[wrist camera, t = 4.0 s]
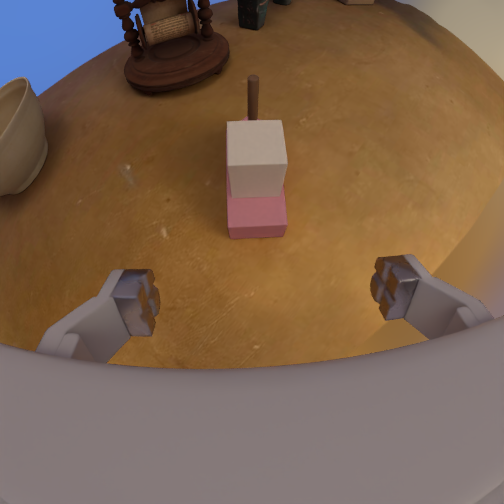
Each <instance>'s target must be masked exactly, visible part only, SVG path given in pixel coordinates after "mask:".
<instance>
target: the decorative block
mask: <svg viewBox="0 0 504 504" xmlns="http://www.w3.org/2000/svg"><path fill="white" fill-rule="evenodd" d="M338 1H340V2H342V3H344V4H346V5H352V4H373V3H374V0H338Z"/></svg>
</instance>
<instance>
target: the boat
mask: <svg viewBox="0 0 504 504" xmlns="http://www.w3.org/2000/svg"><path fill="white" fill-rule="evenodd" d="M258 92H259V77H258V76H257V75H250V76H248V116H247V117H246V118H244V119H243V120H242V121H230V122H227V130H226V174H227V223H228V231H229V235H230V239H240V238H261V237H282V236H283V235H284V232H285V230H286V227H287V225H288V223H287V213H286V204H285V194H284V185H283V182H284V177H285V173H286V169H287V165H288V161H287V154H286V147H285V140H284V133H283V127H282V121H281V120H259V119H258V118H257V117H258Z"/></svg>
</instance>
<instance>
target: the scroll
mask: <svg viewBox="0 0 504 504" xmlns="http://www.w3.org/2000/svg"><path fill="white" fill-rule="evenodd" d="M113 2H114V3H115V4H116V5H115V7H114V11H115V14H116V16H117V17H119V19H122V29H123V30H124V31H126V33H125V34H124V39H125V40H126V41H127V42H130V43H129V44H128V45H129V46H132V49H131V56H130V57H129V59H128V60H127V62H126V64H125V67H124V74H125V77H126V79H127V81H128V83H129V84H130V85H131V86H132V87H134V88H136V89H139V90H142V91H144V92H145V94H147V95H151V94H152V92H159V91H169V90H174V89H179V88H183V87H186V86H189V85H192V84H195V83H197V82H199V81H202V80H204V79H206V78H208V77H209V76H211V75H213V74H214V73H216V74H220V73H221V71H222V67H223V66H224V64H225V63H226V62H227V60H228V58H229V44H228V41H227V40H226V39H225V38H224V37H223V36H222V35H220V34H218V33H216V32H213V28H212V27H211V25H210V23H211V22H212V20H210V18H211V17H212V15H213V13H212V10H211V9H209V8H208V7H209V5H210V2H209V0H198V7H199V8H201V9H200V10H199V11H198V13H197V10H196V7H195V4H194V2H193V0H188V10H189V12H188V11H187V4H186V0H135V1H134V2H133V3H131V2H128V1H124V0H113ZM133 8H138V9H139V8H140V12H141V15H142V18H143V22H144V26H143V27H142V24H141V20H140V18H139V15H138V14H136V16H135V20H136V25H137V29H138V31H137V30H136V29H133V27H134V22H133V21H132V20H131V19H130V18H129V16H130V15H131V13H130V12H131V11H132V10H133ZM198 18H199V19H201V21H200V24H202V29H200V26H199V19H198ZM145 35H146V38H147V40H148V41H147V42H146V38H145ZM138 36H140V39H141V42H142V46H140V45H139V44H138V43H139V42H140V40H138V39H137V38H138Z"/></svg>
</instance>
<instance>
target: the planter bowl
mask: <svg viewBox="0 0 504 504" xmlns="http://www.w3.org/2000/svg"><path fill="white" fill-rule="evenodd" d="M47 152H48V142H47V140H46V138H45V123H44V117H43V112H42V108H41V105H40V103H39V100H38V98H37V96H36V94H35V93H34V92H33V90H32V88H31V85H30V83H29V81H28V80H27V78H25V77H18V78H16V79H13V80H11V81H10V82H8V83H7V84H5V85H4V86H2V87H1V88H0V196H3V195H6V194H8V193H9V194H12V195H14V194H18V193H20V192H22V191H23V190H25V189H26V188H27V187H28V186H29V185H30V184H31V183H32V182H33V180H34V179H35V178H36V176H37V175H38V173H39V172H40V170H41V168H42V166H43V164H44V162H45V159H46V156H47Z"/></svg>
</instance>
